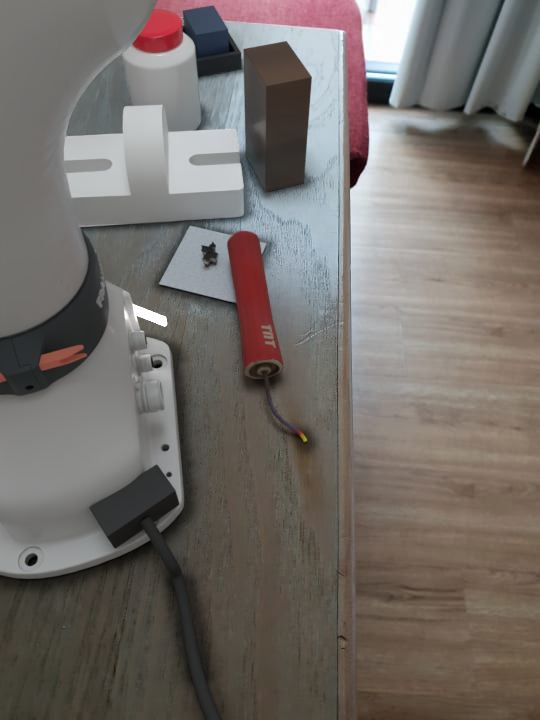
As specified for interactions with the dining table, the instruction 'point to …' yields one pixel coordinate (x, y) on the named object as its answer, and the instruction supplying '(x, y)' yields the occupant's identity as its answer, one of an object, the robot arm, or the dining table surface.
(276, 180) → the dark brown tall block
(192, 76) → the pill bottle
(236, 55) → the dark rectangular tray
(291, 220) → the dining table surface
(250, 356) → the dynamite stick
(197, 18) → the dark blue rectangular block
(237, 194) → the slotted mounting bracket
